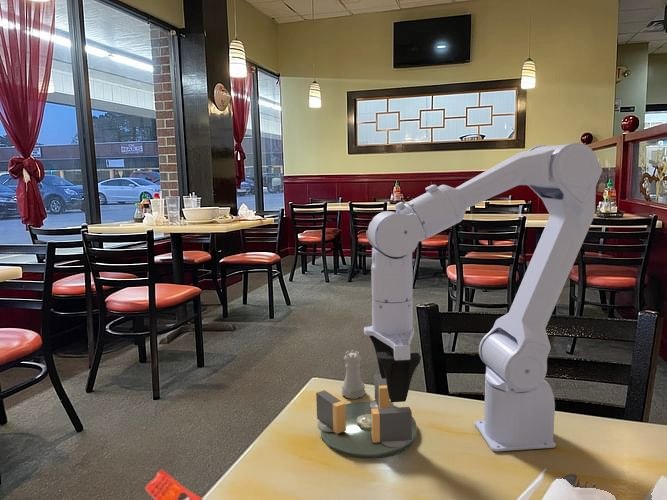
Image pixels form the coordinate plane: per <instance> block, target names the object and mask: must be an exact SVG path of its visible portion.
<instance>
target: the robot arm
mask: <svg viewBox="0 0 667 500" xmlns="http://www.w3.org/2000/svg"><path fill="white" fill-rule="evenodd" d="M602 173H603V167H602V166H601V164H600V162H599V160H598V158H597V156H596V153H595V152H594V151H593V149H592V148H591V147H590V146H588V145H587V144H585V143H582V142H572V143H571V142H570V143H567V144H558V145H557V144H556V145H546V144H542V145H541V144H539V145H535V146H533V147H530V149H528V150H524V151H521V152H517V153H515V154H514V155H511V156H510V157H508V158H507V159H505V160H503V161H501V162H499V163H497V164H496V165H494V166H492V167H490V168H488V169H487V170H485V171H483V172H482V173H480V174H477V175H476V176H474V177H473V178H471V179H469V180H466V181H465V182H464V183H462V184H460V185H459V186H456V187H452V186H450V185H447V184H441V185H439V186H438V185H437V184H431V185H429V186H427V187H425V191H426V192H425V193H423V194H420V195H419V196H417V197H415V198H413V199H411V200H409V201H406V202H405V203H404V202H403V201H399V202H397V203H396V204H395V205H394V207H395V211H390V210H385V211H382V212H380V213H378V214H376V215H375V216H373V217H372V220H371V221H370V222H369V224H368V227H367V230H366V232H365V233H366V238H367V241H368V242H369V244H370V245H371V246H372V247H371V266H370V268H371V269H370V270H371V271H370V273H371V278H370V280H371V322H372V323H371V325H370V326H364V327H363V333H364V335H365V336H369V338H370V340H371V342H372V344H373V348H374V350H375V351H374V352H375V354H376V360H377V365H378V370H379V374H381V377H382V379H384V378H386V383H387V389H388V394H389V398H390V401H391V402H392V403H405V402H406V401H407V397H408V394H409V390H410V385H411V382H412V378H413V376H414V373H415V371H416V369H417V368H418V366H419V365H420V364H421V363H420V362H421V360H422V359H421V357H422V356H421V355H420V353H419V352H411V343H412V339H413V338H414V335H415V327H414V325H413V320H414V318H413V317H414V316H413V315H414V314H413V313H414V310H413V307H414V306H413V305H414V302H413V301H414V299H413V297H414V296H413V295H414V292H413V291H414V290H413V288H414V285H413V284H414V283H413V281H414V280H413V277H414V274H413V271H414V270H413V253H414V251H415V250H416V248H417V247H418V244H419V242H424V241H426V240H427V239H429V238H431V237H434V236H435V235H437V234H439V233H441V232H442V231H445V230H447V229H449V228H451V227H453V226H455V225H457V224H459V223H460V222H462V221H463V219H464V217H465V214H466V211H467V209H468V208H471V207H474V206H475V205H478V204H480V203H483V202H484V201H486V200H488V199H491V198H493V197H495V196H498V195H500V194H502V193H504V192H507V191H509V190H511V189H513V188H515V187H518V186H527V187H529V188H530V189H531V190H532V191H533V192H534V193H535V194H536V195H537V197H539V198H540V199H541V201H542V202H543V205H544V206H545V208H546V210H547V212H548V213H549V214H548V215H549V216H548V219H547V222H546V223H545V227H544V229H543V230H542V233H541V236H540V239H539V240H538V243H537V245H536V248H535V249H534V252H533V255H532V257H531V259H530V261H529V263H528V266H527V268H526V271H525V272H524V275H523V278H522V280H521V283H520V285H519V287H518V290H517V292H516V294H515V297H514V299H513V302H512V303H511V306H510V308H509V311H508V312H507V313H506V314H504V315H502V316H501V317H498V318H497V319H496V320H495V322H494V324H493V327H492V328H491V329H490V331H489V332H487V333H486V334H485V335H484V336H483V337H482V339H481V340H480V343H479V345H478V355H479V358H480V360H481V361H482V362H483V363H484V364H485V378H484V379H485V380H484V381H485V382H484V409H483V410H484V412H483V413H484V414H483V415H484V419H483V420H476V421H474V426H475V427H476V429H477V430H478V431H479V433H480V434H481V436H482V437H483V439H484V440H485V442H486V443H487V445H488V446H489V448H490V449H491V451H493V452H505V451H506V452H507V451H508V452H509V451H519V450H520V451H521V450H536V449H537V450H538V449H539V450H540V449H552V448H556V446H557V445H556V443H555V441H554V435H555V434H554V431H555V413H556V412H555V410H556V409H555V408H556V401H555V395H554V392H553V389H552V387H551V386H550V384H549V382H548V381H547V380H545V378H546V375H547V372H548V356H549V354H550V351H551V350H552V349H551V348H552V347H551V344H550V339H549V336H548V335H547V330H546V328H547V326H548V323H549V321H550V319H551V317H552V314H553V312H554V310H555V307H556V306H557V302H558V301H559V298H560V296H561V294H562V291H563V289H564V286H565V285H566V282H567V279H568V277H569V275H570V274H571V270H572V268H573V267H574V264H575V262H576V259H577V257H578V254H579V252H580V250H581V248H582V245H583V244H584V241H585V239H586V236H587V234H588V232H589V229H590V227H591V225H592V223H593V220H594V218H595V215H596V197H597V196H596V191H597V185H598V181H600V177H601V175H602Z"/></svg>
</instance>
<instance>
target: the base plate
mask: <svg viewBox="0 0 667 500" xmlns="http://www.w3.org/2000/svg"><path fill="white" fill-rule="evenodd" d="M371 402H372V401H355V402H349V403H345V415H346V431H344V432H341V433H338V434H336V433H335V432H324V431H321V430H320V435H321V438H322V441H323V443H324V444H325V445H326V446H327V447H329V448H330V449H331V450H333V451H335V452H336V453H338V454H342V455H344V456H348V457H350V458H351V457H352V458H355V459H356V458H357V459H368V460H370V459H382V458H383V459H384V458H389V457H392V456H394V455H395V456H396V455H398V454H401V453H402V452H404V451H406V450H407V449H409V448H410V447H411V446H412V445H413V443H414V442H415V441H416V438H417V423H416V420H415V418H414V417H413V416H412V440H407V442H406V444H405V445H404V446H401V447H397V448H391V447H387V446H384V445H383V444H381V442H375V443H373V440H372V435H371V408H370V403H371ZM397 407H398V406H397V405H394V408H397Z"/></svg>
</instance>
